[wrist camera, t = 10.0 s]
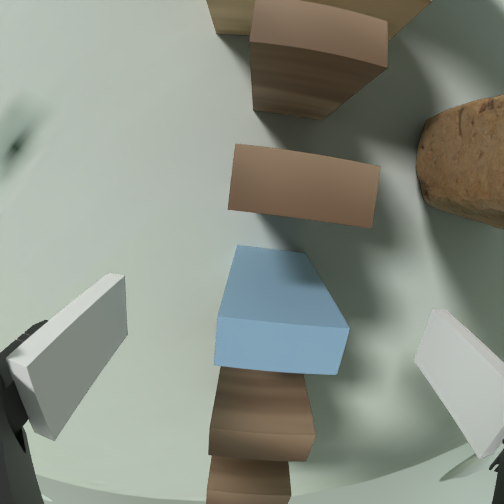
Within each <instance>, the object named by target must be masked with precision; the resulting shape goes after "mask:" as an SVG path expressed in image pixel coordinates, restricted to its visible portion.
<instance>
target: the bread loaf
mask: <svg viewBox="0 0 504 504" xmlns="http://www.w3.org/2000/svg"><path fill="white" fill-rule="evenodd" d="M416 171H417V176H418V178H419V180H420V184H421V189H422V194H423V198H424V200H425V201H426V202H427V203H428V204H429V205H430V206H432V207H434V208H437V209H439V210H442V211H445V212H448V213H451V214H455V215H458V216H461V217H464V218H467V219H471V220H475V221H478V222H482V223H485V224H488V225H491V226H494V227H498V228H502V229H504V95H500V96H496V97H493V98H485V99H480V100H476V101H472V102H469V103H466V104H463V105H460V106H457V107H454V108H450V109H448V110H446V111H443V112H441V113H439V114H437V115H435V116H433V117H431V118H429V119H428V120H427V121H426V123H425V125H424V128H423V132H422V135H421V137H420V141H419V145H418V151H417V158H416Z"/></svg>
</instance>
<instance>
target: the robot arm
mask: <svg viewBox="0 0 504 504" xmlns="http://www.w3.org/2000/svg"><path fill="white" fill-rule="evenodd" d="M127 335H128V330H127V314H126V292H125V275H119V274H112V273H108V274H107V275H105V276H104V277H103V278H101V279H100V280H99V281H97V282H96V283H95V284H94V285H92V286H91V287H90V288H88V289H87V290H86V291H85V292H83V293H82V294H81V295H80V296H78V297H77V298H76V299H75V300H73V301H72V302H71V303H70V304H68V305H67V306H66V307H65V308H63V309H62V310H61V311H60V312H59V313H57V314H56V315H55V316H54V317H53V318H51V319H50V320H49V321H48V320H44V321H42V322H39V323H37V324H35V325H33V326H32V327H30V328H29V329H28V330H27V331H26V332H25V334H22V335H21V336H20V337H18V339H17V340H15V341H14V342H12V343H11V344H10V345H9V346H8V347H7V348H5V349H4V350H3V351H2V352H1V353H0V504H44V502H43V499H42V496H41V492H40V490H39V486H38V482H37V479H36V475H35V471H34V467H33V463H32V459H31V455H30V450H29V446H28V441H27V436H26V432H25V430H24V428H23V425H24V424H25V423H26V422H27V420H28V419H29V421H30V423H31V426H32V428H33V430H34V432H35V433H37V434H40V435H42V436H44V437H46V438H48V439H51V440H53V441H55V440H56V438H57V437H58V435H59V434H60V432H61V430H62V429H63V427H64V426H65V424H66V423H67V421H68V420H69V418H70V417H71V415H72V414H73V412H74V411H75V409H76V408H77V406H78V405H79V403H80V402H81V400H82V399H83V397H84V396H85V394H86V393H87V391H88V390H89V388H90V387H91V386H92V384H93V383H94V381H95V380H96V378H97V377H98V375H99V374H100V373H101V371H102V370H103V368H104V367H105V365H106V364H107V363H108V361H109V360H110V358H111V357H112V356H113V354H114V353H115V351H116V350H117V349H118V347H119V346H120V344H121V343H122V342H123V340H124V339H125V338H126V336H127ZM414 362H415V363H416V365H417V366H418V367H419V369H420V370H421V372H422V373H423V375H424V376H425V377H426V379H427V380H428V382H429V383H430V385H431V386H432V387H433V389H434V390H435V392H436V393H437V395H438V396H439V398H440V399H441V401H442V402H443V404H444V405H445V407H446V408H447V410H448V411H449V413H450V414H451V416H452V417H453V419H454V420H455V422H456V424H457V425H458V427H459V428H460V430H461V431H462V433H463V434H464V436H465V438H466V439H467V441H468V442H469V444H470V446H471V447H472V449H473V451H474V452H475V454H476V455H477V457H478V459H481V458H484V457H486V456H489V455H492V454H493V453H494V452H495V450H496V449H497V448H498V446H499V445H500V444H501V442H503V444H504V363H503V362H502V361H501V360H500V359H499V358H498V357H497V356H496V355H495V354H494V353H493V352H492V351H491V350H490V349H489V348H488V347H487V346H486V345H485V344H483V343H482V342H481V341H480V340H479V339H478V338H477V337H476V336H475V335H474V334H473V333H472V332H470V331H469V330H468V329H467V328H466V327H465V326H464V325H463V324H462V323H460V322H459V321H458V320H457V319H456V318H455V317H454V316H452V315H451V314H450V313H449V312H448V311H447V310H446V309H437V308H432V311H431V314H430V317H429V320H428V323H427V326H426V329H425V331H424V334H423V337H422V340H421V342H420V345H419V348H418V350H417V353H416V355H415V358H414ZM496 464H499V466H498V467H497V468H496V469H495V470H494V471H496V472H498V474H497V480H496V486H495V491H494V496H493V501H492V504H504V449H503V450H502V452H501V453H500V454H499V456H498V457H497V458H496V459H495V461H494V462H493V463H492V464H491V465H490V468H489V470H491V469H492V468H493V467H494V466H495V465H496Z"/></svg>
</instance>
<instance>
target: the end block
mask: <svg viewBox="0 0 504 504" xmlns="http://www.w3.org/2000/svg"><path fill="white" fill-rule="evenodd" d="M206 1H207V4H208V8H209V11H210V14H211V17H212V21H213V24H214V27H215V31H216V34H235V35H249V36H250V33H251V26H252V20H253V13H254V7H255V1H256V0H206ZM300 1H306V2H312V3H317V4H323V5H327V6H332V7H337V8H341V9H345V10H349V11H353V12H357V13H361V14H365V15H368V16H372V17H375V18H378V19H382V20H385V21H387V27H388V41H390V40H391V39H392V38H393V37H394V36H395V35H396V34H397V33H398V32H399V31H400V30H401V29H402V28H403V27H404V26H406V25H407V24H408V23H409V22H410V21H411V20H412V19H413V18H414V17H415V16H416V15H418V14H419V13H420V12H421V11H422V10H423V9H424V8H425V7H426V6H428V5H429V4H430V3H431V2H432V0H300Z"/></svg>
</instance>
